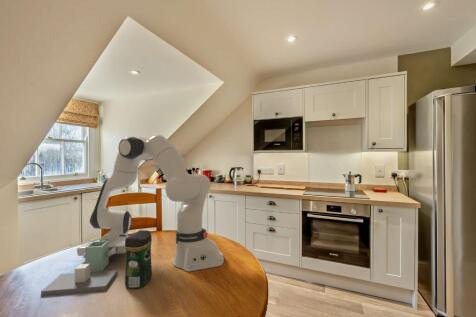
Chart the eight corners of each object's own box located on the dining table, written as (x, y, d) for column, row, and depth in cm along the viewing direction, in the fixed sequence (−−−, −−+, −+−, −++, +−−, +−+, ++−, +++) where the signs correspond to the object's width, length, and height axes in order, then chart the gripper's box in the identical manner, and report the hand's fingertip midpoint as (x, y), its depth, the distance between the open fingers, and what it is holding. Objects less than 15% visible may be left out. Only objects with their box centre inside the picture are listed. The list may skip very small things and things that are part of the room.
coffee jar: (135, 274, 88) (136, 228, 88) (154, 275, 87) (155, 229, 87) (120, 289, 79) (120, 236, 78) (141, 290, 78) (141, 238, 78)
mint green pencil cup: (108, 263, 97) (108, 240, 97) (102, 270, 91) (102, 246, 91) (92, 264, 96) (92, 241, 96) (85, 272, 90) (85, 247, 90)
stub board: (117, 273, 89) (117, 257, 89) (105, 290, 78) (105, 271, 78) (61, 277, 85) (61, 261, 85) (41, 295, 74) (41, 276, 74)
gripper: (85, 237, 104) (68, 249, 91) (132, 235, 108) (122, 246, 94) (85, 250, 104) (68, 264, 91) (132, 248, 108) (122, 261, 94)
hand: (96, 255), depth 92 cm, fingers open, 7 cm apart
